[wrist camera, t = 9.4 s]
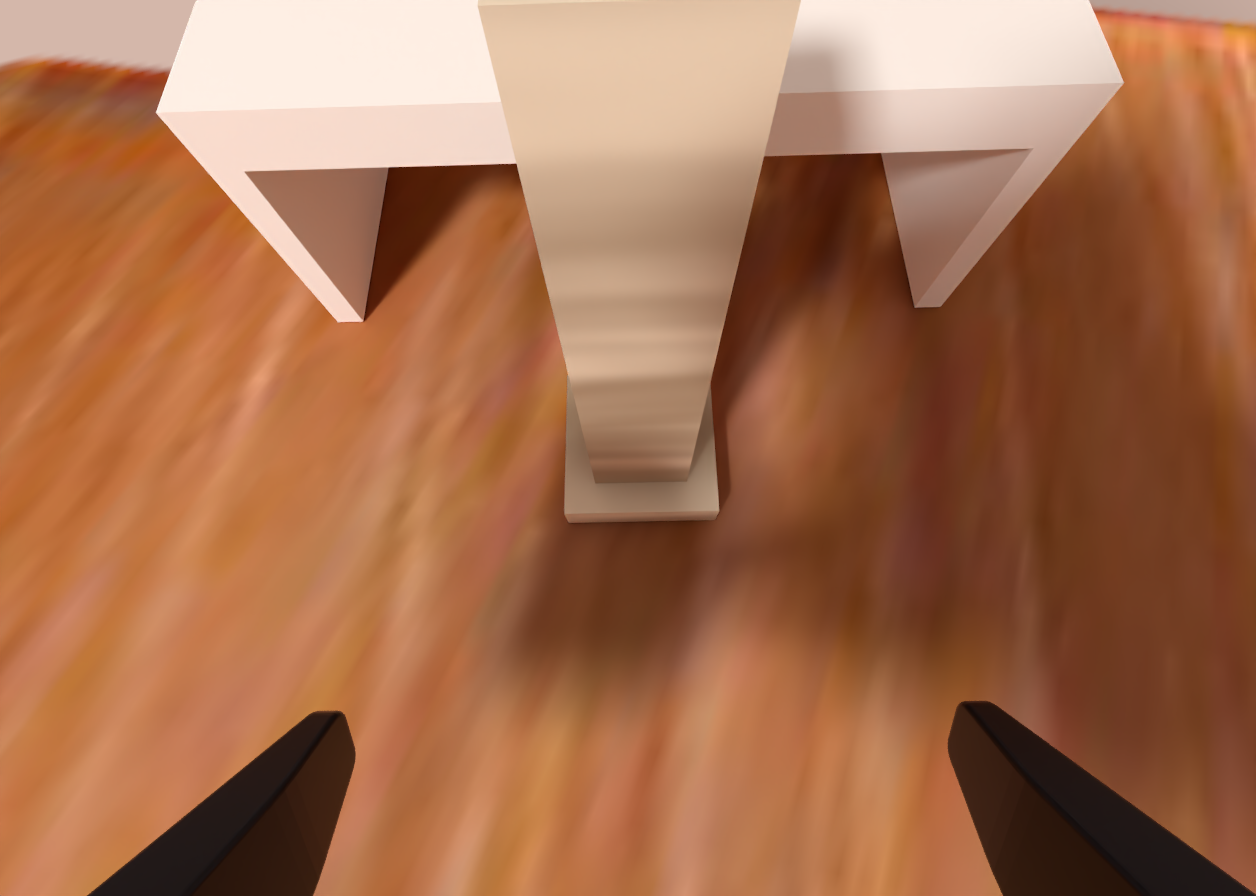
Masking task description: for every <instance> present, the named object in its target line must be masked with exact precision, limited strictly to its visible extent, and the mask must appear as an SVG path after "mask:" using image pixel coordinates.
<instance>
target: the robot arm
mask: <svg viewBox="0 0 1256 896" xmlns="http://www.w3.org/2000/svg"><path fill="white" fill-rule="evenodd" d="M948 753H949V757H950V760H951V763H952V766H953V768H954V771H955V774H956V776H957V779H958V782H959V785H960V787H961V790H962V793H963V795H964V798H965V801H966V803H967V806H968V809H969V812H970V814H971V817H972V820H973V822H974V825H975V828H976V830H977V833H978V836H979V839H980V841H981V844H982V847H983V849H984V852H985V855H986V857H987V860H988V862H989V865H990V867H991V870H992V872H993V875H994V877H995V879H996V881H997V883H998V886H999V888H1000V890H1001V892H1002V894H1003V896H1256V894H1254V893H1253V892H1252V891H1250V890H1249V889H1248V888H1246V887H1245V886H1243V885H1242V884H1241V883H1239V882H1238V881H1237V880H1235V879H1234V878H1232V877H1231V876H1230V875H1228V874H1227V873H1226V872H1224V871H1223V870H1221V869H1220V868H1219V867H1217V866H1216V865H1215V864H1213V863H1212V862H1211V861H1209V860H1208V859H1206V858H1205V857H1204V856H1202V855H1201V854H1200V853H1198V852H1197V851H1195V850H1194V849H1193V848H1191V847H1190V846H1189V845H1187V844H1186V843H1184V842H1183V841H1182V840H1180V839H1179V838H1178V837H1176V836H1175V835H1173V834H1172V833H1171V832H1169V831H1168V830H1167V829H1165V828H1164V827H1162V826H1161V825H1160V824H1158V823H1157V822H1156V821H1154V820H1153V819H1152V818H1150V817H1149V816H1147V815H1146V814H1145V813H1143V812H1142V811H1141V810H1139V809H1138V808H1136V807H1135V806H1134V805H1132V804H1131V803H1130V802H1128V801H1127V800H1125V799H1124V798H1123V797H1121V796H1120V795H1119V794H1117V793H1116V792H1114V791H1113V790H1112V789H1110V788H1109V787H1108V786H1106V785H1105V784H1103V783H1102V782H1101V781H1099V780H1098V779H1097V778H1095V777H1094V776H1092V775H1091V774H1090V773H1088V772H1087V771H1086V770H1084V769H1083V768H1082V767H1080V766H1079V765H1077V764H1076V763H1075V762H1073V761H1072V760H1071V759H1069V758H1068V757H1066V756H1065V755H1064V754H1062V753H1061V752H1060V751H1058V750H1057V749H1055V748H1054V747H1053V746H1051V745H1050V744H1049V743H1047V742H1046V741H1044V740H1043V739H1042V738H1040V737H1039V736H1038V735H1036V734H1035V733H1033V732H1032V731H1031V730H1029V729H1028V728H1027V727H1025V726H1024V725H1022V724H1021V723H1020V722H1018V721H1017V720H1016V719H1014V718H1013V717H1012V716H1010V715H1009V714H1007V713H1006V712H1005V711H1003V710H1002V709H1001V708H999V707H998V706H996V705H995V704H993V703H991V702H988V701H964V702H961V703H960V704H959V705H958V706H957V708H956V712H955V716H954V719H953V723H952V727H951V731H950V735H949V738H948ZM355 756H356V754H355V747H354V743H353V740H352V736H351V733H350V730H349V726H348V723H347V720H346V717H345V715H344V714H343V713H342V712H341V711H316V712H313V713H311V714H309V715H308V716H307V717H305V718H304V719H303V720H302V721H301V722H299V723H298V724H297V725H296V726H294V727H293V728H292V729H291V730H289V731H288V732H287V733H286V734H285V735H283V736H282V737H281V738H280V739H278V740H277V741H276V742H275V743H274V744H272V745H271V746H270V747H269V748H267V749H266V750H265V751H264V752H263V753H261V754H260V755H259V756H258V757H256V758H255V759H254V760H253V761H252V762H250V763H249V764H248V765H247V766H245V767H244V768H243V769H242V770H240V771H239V772H238V773H237V774H236V775H234V776H233V777H232V778H231V779H229V780H228V781H227V782H226V783H225V784H223V785H222V786H221V787H220V788H218V789H217V790H216V791H215V792H214V793H212V794H211V795H210V796H209V797H207V798H206V799H205V800H204V801H203V802H201V803H200V804H199V805H198V806H196V807H195V808H194V809H193V810H191V811H190V812H189V813H188V814H187V815H185V816H184V817H183V818H182V819H180V820H179V821H178V822H177V823H176V824H174V825H173V826H172V827H171V828H169V829H168V830H167V831H166V832H165V833H163V834H162V835H161V836H160V837H158V838H157V839H156V840H155V841H154V842H152V843H151V844H150V845H149V846H147V847H146V848H145V849H144V850H143V851H141V852H140V853H139V854H138V855H136V856H135V857H134V858H133V859H131V860H130V861H129V862H128V863H127V864H125V865H124V866H123V867H122V868H120V869H119V870H118V871H117V872H116V873H114V874H113V875H112V876H111V877H109V878H108V879H107V880H106V881H105V882H103V883H102V884H101V885H100V886H98V887H97V888H96V889H95V890H94V891H92V892H91V893H90V894H89V895H87V896H313V894H314V892H315V889H316V886H317V884H318V881H319V878H320V875H321V872H322V869H323V866H324V863H325V860H326V857H327V854H328V850H329V847H330V844H331V841H332V837H333V834H334V831H335V828H336V824H337V821H338V818H339V814H340V811H341V808H342V805H343V801H344V798H345V795H346V791H347V788H348V785H349V782H350V778H351V775H352V772H353V768H354V764H355Z"/></svg>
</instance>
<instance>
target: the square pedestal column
mask: <svg viewBox="0 0 1256 896" xmlns="http://www.w3.org/2000/svg"><path fill="white" fill-rule="evenodd" d="M800 3H801V0H478V10H479V14H480V18H481V22H482V26H483V30H484V34H485V38H486V42H487V46H488V50H489V54H490V58H491V62H492V66H493V71H494V75H495V79H496V83H497V87H498V91H499V95H500V99H501V103H502V107H503V111H504V115H505V119H506V123H507V127H508V131H509V135H510V140H511V144H512V148H513V152H514V156H515V160H516V164H517V168H518V172H519V176H520V180H521V184H522V188H523V192H524V196H525V200H526V204H527V209H528V213H529V217H530V221H531V225H532V229H533V233H534V237H535V241H536V245H537V249H538V253H539V257H540V261H541V265H542V269H543V273H544V277H545V282H546V286H547V290H548V294H549V298H550V302H551V306H552V310H553V314H554V318H555V322H556V326H557V330H558V334H559V338H560V342H561V346H562V351H563V355H564V359H565V363H566V367H567V371H568V375H567V415H566V458H565V501H564V514H565V516H566V519H567V521H568V523H587V522H638V521H689V520H715V519H716V517H717V515H718V513H719V498H718V484H717V470H716V456H715V442H714V428H713V414H712V400H711V385H710V382H711V377H712V373H713V369H714V365H715V360H716V356H717V352H718V348H719V344H720V339H721V335H722V331H723V327H724V323H725V318H726V314H727V310H728V306H729V302H730V297H731V293H732V289H733V285H734V281H735V276H736V272H737V268H738V264H739V259H740V255H741V251H742V247H743V243H744V238H745V234H746V230H747V226H748V222H749V217H750V213H751V209H752V205H753V201H754V196H755V192H756V188H757V184H758V180H759V175H760V171H761V167H762V163H763V158H764V154H765V150H766V146H767V142H768V137H769V133H770V129H771V125H772V121H773V116H774V112H775V108H776V104H777V100H778V95H779V91H780V87H781V83H782V79H783V74H784V70H785V66H786V62H787V57H788V53H789V49H790V45H791V41H792V36H793V32H794V28H795V24H796V20H797V15H798V11H799V7H800Z"/></svg>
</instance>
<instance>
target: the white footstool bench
mask: <svg viewBox="0 0 1256 896" xmlns="http://www.w3.org/2000/svg"><path fill="white" fill-rule="evenodd" d="M1123 83H1124V82H1123V79H1122V77H1121V75H1120V72H1119V70H1118V68H1117V65H1116V63H1115V61H1114V58H1113V56H1112V54H1111V51H1110V49H1109V47H1108V44H1107V42H1106V40H1105V37H1104V35H1103V32H1102V30H1101V28H1100V25H1099V23H1098V21H1097V18H1096V16H1095V14H1094V11H1093V9H1092V7H1091V4H1090V2H1089V0H801V3H800V7H799V11H798V15H797V20H796V24H795V28H794V32H793V36H792V41H791V45H790V49H789V53H788V57H787V62H786V66H785V70H784V74H783V79H782V83H781V87H780V91H779V95H778V100H777V104H776V108H775V112H774V116H773V121H772V125H771V129H770V133H769V137H768V142H767V146H766V150H765V154H764V156H790V155H824V154H859V153H881V155H882V159H883V164H884V169H885V173H886V178H887V183H888V187H889V192H890V196H891V201H892V206H893V210H894V215H895V220H896V224H897V229H898V234H899V238H900V243H901V247H902V252H903V257H904V261H905V266H906V271H907V275H908V280H909V284H910V289H911V294H912V298H913V303H914V308H917V307H941V306H942V304H943V303H944V302H945V301H946V300H947V298H948V297H949V296H950V295H951V294H952V292H953V291H954V290H955V289H956V287H957V286H958V285H959V284H960V283H961V281H962V280H963V279H964V278H965V276H966V275H967V274H968V273H969V272H970V270H971V269H972V268H973V267H974V265H975V264H976V263H977V262H978V261H979V259H980V258H981V257H982V256H983V254H984V253H985V252H986V251H987V250H988V248H989V247H990V246H991V245H992V243H993V242H994V241H995V240H996V239H997V237H998V236H999V235H1000V234H1001V232H1002V231H1003V230H1004V229H1005V228H1006V226H1007V225H1008V224H1009V223H1010V221H1011V220H1012V219H1013V218H1014V217H1015V215H1016V214H1017V213H1018V212H1019V210H1020V209H1021V208H1022V207H1023V206H1024V204H1025V203H1026V202H1027V201H1028V199H1029V198H1030V197H1031V196H1032V195H1033V193H1034V192H1035V191H1036V190H1037V188H1038V187H1039V186H1040V185H1041V184H1042V182H1043V181H1044V180H1045V179H1046V177H1047V176H1048V175H1049V174H1050V173H1051V171H1052V170H1053V169H1054V168H1055V167H1056V165H1057V164H1058V163H1059V162H1060V160H1061V159H1062V158H1063V157H1064V156H1065V154H1066V153H1067V152H1068V151H1069V149H1070V148H1071V147H1072V146H1073V145H1074V143H1075V142H1076V141H1077V140H1078V138H1079V137H1080V136H1081V135H1082V134H1083V132H1084V131H1085V130H1086V129H1087V127H1088V126H1089V125H1090V124H1091V123H1092V121H1093V120H1094V119H1095V118H1096V116H1097V115H1098V114H1099V113H1100V112H1101V110H1102V109H1103V108H1104V107H1105V105H1106V104H1107V103H1108V102H1109V101H1110V99H1111V98H1112V97H1113V96H1114V94H1115V93H1116V92H1117V91H1118V90H1119V88H1120V87H1121V86H1122V85H1123ZM156 113H157V115H158V116H159V117H160V118H161V119H162V120H163V121H164V123H165V124H166V125H167V126H168V127H169V128H170V129H171V131H172V132H173V133H174V134H175V135H176V136H177V138H178V139H179V140H180V141H181V142H182V143H183V144H184V146H185V147H186V148H187V149H188V150H189V151H190V152H191V154H192V155H193V156H194V157H195V158H196V159H197V161H198V162H199V163H200V164H201V165H202V166H203V167H204V169H205V170H206V171H207V172H208V173H209V174H210V175H211V177H212V178H213V179H214V180H215V181H216V182H217V184H218V185H219V186H220V187H221V188H222V189H223V190H224V192H225V193H226V194H227V195H228V196H229V197H230V198H231V200H232V201H233V202H234V203H235V204H236V205H237V206H238V208H239V209H240V210H241V211H242V212H243V213H244V215H245V216H246V217H247V218H248V219H249V220H250V221H251V223H252V224H253V225H254V226H255V227H256V228H257V229H258V231H259V232H260V233H261V234H262V235H263V236H264V238H265V239H266V240H267V241H268V242H269V243H270V244H271V246H272V247H273V248H274V249H275V250H276V251H277V252H278V254H279V255H280V256H281V257H282V258H283V259H284V261H285V262H286V263H287V264H288V265H289V266H290V267H291V269H292V270H293V271H294V272H295V273H296V274H297V275H298V277H299V278H300V279H301V280H302V281H303V282H304V284H305V285H306V286H307V287H308V288H309V289H310V290H311V292H312V293H313V294H314V295H315V296H316V297H317V298H318V300H319V301H320V302H321V303H322V304H323V305H324V307H325V308H326V309H327V310H328V311H329V312H330V313H331V315H332V316H333V317H334V318H335V319H336V320H337V321H338V322H363V321H364V315H365V309H366V302H367V296H368V290H369V284H370V278H371V272H372V266H373V260H374V254H375V248H376V241H377V235H378V229H379V223H380V217H381V211H382V205H383V199H384V193H385V186H386V180H387V174H388V168H389V167H415V166H449V165H483V164H516V160H515V156H514V152H513V148H512V144H511V140H510V135H509V131H508V127H507V123H506V119H505V115H504V111H503V107H502V103H501V99H500V95H499V91H498V87H497V83H496V79H495V75H494V71H493V66H492V62H491V58H490V54H489V50H488V46H487V42H486V38H485V34H484V30H483V26H482V22H481V18H480V14H479V10H478V0H196V2H195V5H194V7H193V10H192V13H191V16H190V19H189V21H188V25H187V27H186V30H185V33H184V35H183V38H182V41H181V44H180V47H179V49H178V52H177V55H176V58H175V61H174V64H173V66H172V69H171V72H170V75H169V78H168V80H167V83H166V86H165V89H164V92H163V94H162V97H161V100H160V103H159V106H158V108H157V111H156Z"/></svg>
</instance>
